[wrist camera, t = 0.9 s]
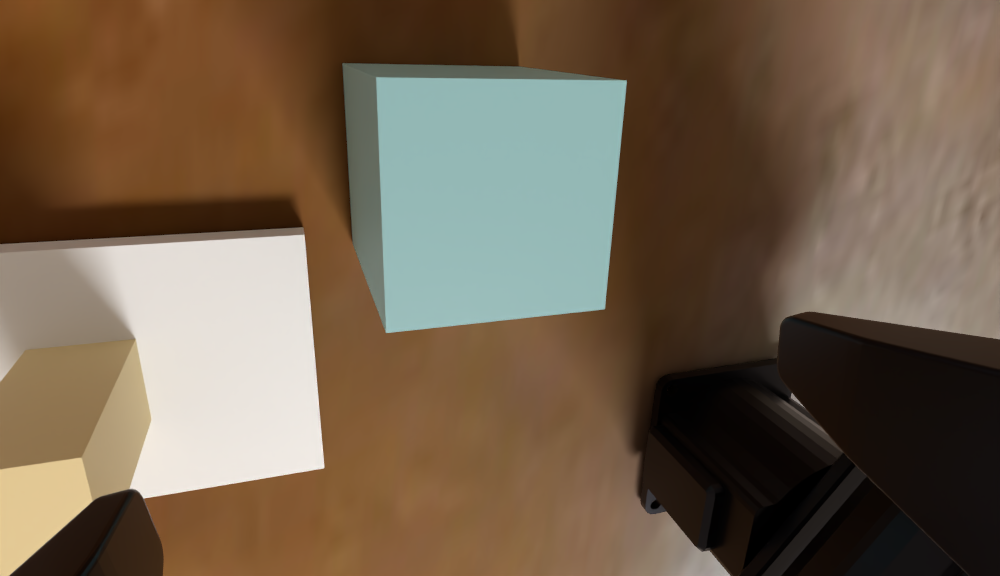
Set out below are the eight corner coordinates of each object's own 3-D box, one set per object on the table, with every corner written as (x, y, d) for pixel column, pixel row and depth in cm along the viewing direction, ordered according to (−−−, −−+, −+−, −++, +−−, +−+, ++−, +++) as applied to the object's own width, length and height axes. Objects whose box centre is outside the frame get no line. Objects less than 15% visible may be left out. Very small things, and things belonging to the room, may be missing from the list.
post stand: (303, 227, 19) (316, 309, 13) (322, 454, 22) (339, 601, 16) (-222, 256, 15) (-517, 388, 10) (-115, 524, 18) (-291, 746, 12)
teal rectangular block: (519, 66, 19) (626, 80, 13) (513, 233, 21) (604, 309, 15) (342, 63, 18) (375, 76, 12) (352, 243, 19) (385, 332, 14)
